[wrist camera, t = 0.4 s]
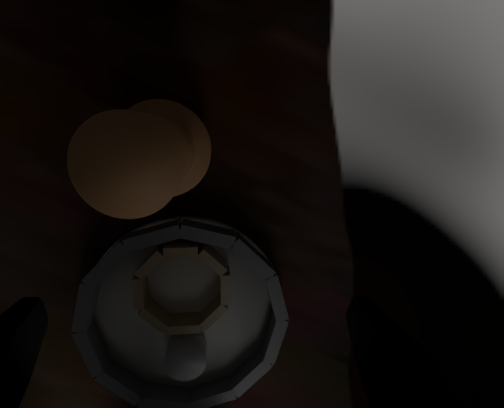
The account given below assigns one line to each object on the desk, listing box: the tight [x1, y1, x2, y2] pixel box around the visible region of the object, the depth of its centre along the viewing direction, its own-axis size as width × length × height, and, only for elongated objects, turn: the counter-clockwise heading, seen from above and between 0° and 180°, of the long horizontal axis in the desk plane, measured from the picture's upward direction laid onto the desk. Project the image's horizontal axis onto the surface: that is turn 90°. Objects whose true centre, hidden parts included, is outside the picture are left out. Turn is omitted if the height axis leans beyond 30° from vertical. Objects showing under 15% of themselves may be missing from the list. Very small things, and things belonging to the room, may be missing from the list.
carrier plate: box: [71, 216, 289, 408], centre depth 25 cm, size 16×16×3 cm
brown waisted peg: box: [67, 99, 211, 219], centre depth 18 cm, size 6×6×12 cm
